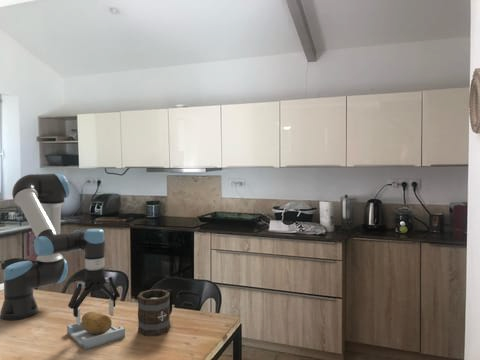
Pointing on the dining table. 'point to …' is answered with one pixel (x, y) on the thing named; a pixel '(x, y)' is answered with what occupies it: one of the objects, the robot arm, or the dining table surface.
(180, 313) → the dining table surface
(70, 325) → the light blue shallow tray
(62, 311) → the dining table surface
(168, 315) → the mug
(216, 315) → the dining table surface
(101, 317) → the potato
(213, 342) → the dining table surface
